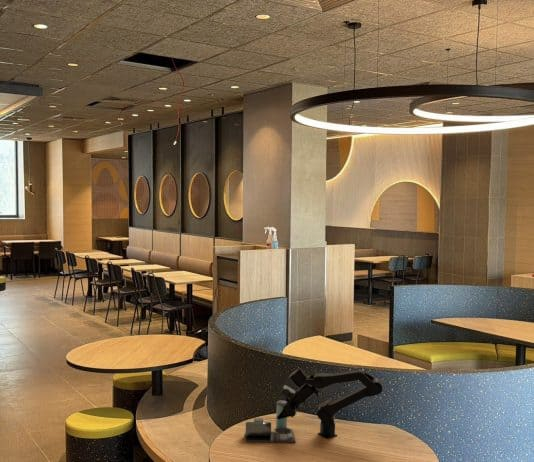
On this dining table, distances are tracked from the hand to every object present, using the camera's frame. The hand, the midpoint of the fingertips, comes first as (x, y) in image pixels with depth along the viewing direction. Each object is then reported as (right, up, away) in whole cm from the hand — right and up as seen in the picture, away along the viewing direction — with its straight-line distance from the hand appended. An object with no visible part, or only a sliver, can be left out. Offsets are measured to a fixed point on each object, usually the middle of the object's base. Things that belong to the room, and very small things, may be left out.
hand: (278, 415), depth 271 cm
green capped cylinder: (+1, -7, 0) cm, 7 cm away
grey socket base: (-4, -7, -10) cm, 13 cm away
